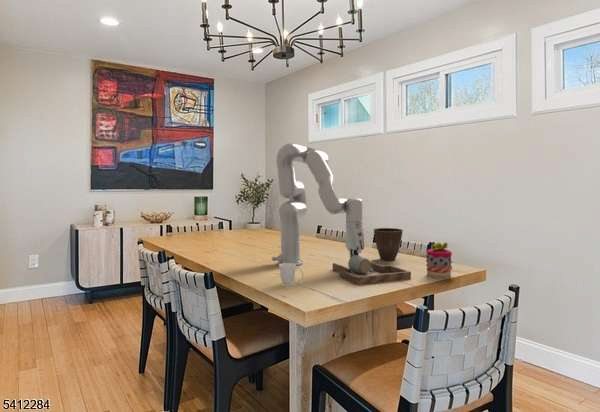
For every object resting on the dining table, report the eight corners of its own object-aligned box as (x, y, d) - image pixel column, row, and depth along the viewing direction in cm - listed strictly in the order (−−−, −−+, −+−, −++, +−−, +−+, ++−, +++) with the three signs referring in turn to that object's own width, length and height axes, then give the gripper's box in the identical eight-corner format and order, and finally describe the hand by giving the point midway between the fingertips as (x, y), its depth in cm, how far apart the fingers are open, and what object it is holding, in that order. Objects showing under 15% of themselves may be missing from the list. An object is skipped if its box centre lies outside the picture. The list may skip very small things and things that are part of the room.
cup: (281, 281, 162) (281, 262, 161) (305, 283, 159) (305, 263, 159) (276, 286, 155) (276, 265, 154) (301, 287, 152) (301, 267, 152)
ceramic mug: (359, 275, 172) (360, 258, 172) (347, 272, 179) (348, 255, 179) (377, 272, 178) (377, 256, 177) (365, 269, 185) (365, 253, 184)
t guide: (357, 285, 156) (357, 277, 156) (325, 270, 183) (325, 264, 183) (410, 278, 166) (410, 271, 166) (372, 265, 193) (372, 259, 193)
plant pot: (397, 263, 198) (397, 232, 197) (369, 260, 206) (369, 230, 205) (405, 258, 211) (406, 229, 210) (379, 256, 218) (379, 227, 218)
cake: (420, 274, 174) (421, 240, 173) (437, 271, 179) (438, 239, 178) (439, 279, 165) (440, 243, 164) (456, 276, 170) (457, 242, 169)
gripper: (369, 226, 178) (369, 266, 179) (352, 223, 191) (352, 260, 192) (355, 226, 175) (355, 267, 176) (339, 223, 188) (339, 261, 189)
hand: (354, 263), depth 184 cm, fingers closed
